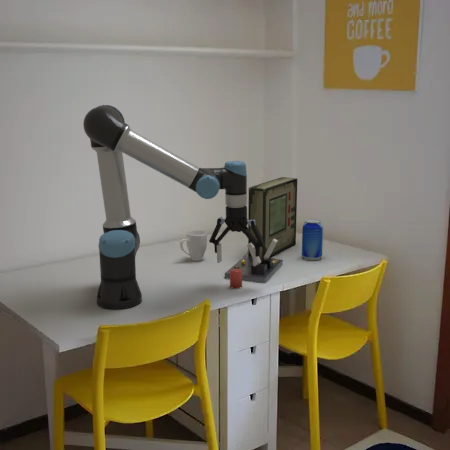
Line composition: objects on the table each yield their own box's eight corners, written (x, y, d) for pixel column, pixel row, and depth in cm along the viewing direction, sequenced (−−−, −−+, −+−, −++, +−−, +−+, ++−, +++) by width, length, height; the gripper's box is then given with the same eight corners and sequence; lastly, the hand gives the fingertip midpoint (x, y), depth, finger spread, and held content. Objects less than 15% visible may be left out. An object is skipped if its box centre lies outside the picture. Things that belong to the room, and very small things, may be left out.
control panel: (264, 261, 257) (265, 189, 250) (248, 258, 261) (248, 187, 254) (295, 244, 282) (297, 178, 275) (280, 242, 286) (282, 177, 278)
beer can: (300, 260, 259) (301, 222, 255) (302, 254, 266) (304, 217, 263) (321, 261, 257) (322, 223, 253) (322, 255, 265) (324, 218, 261)
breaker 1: (259, 264, 234) (250, 243, 233) (255, 266, 235) (246, 245, 234) (261, 262, 237) (252, 242, 236) (258, 263, 237) (249, 243, 237)
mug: (199, 255, 265) (199, 229, 263) (211, 260, 259) (210, 233, 256) (175, 260, 258) (175, 233, 256) (186, 265, 252) (186, 238, 249)
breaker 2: (266, 260, 241) (276, 242, 238) (262, 258, 242) (272, 240, 239) (268, 258, 244) (278, 240, 241) (264, 256, 244) (274, 238, 241)
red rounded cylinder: (239, 289, 225) (239, 273, 223) (228, 287, 226) (228, 271, 225) (243, 285, 229) (243, 269, 227) (232, 283, 230) (232, 268, 229)
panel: (265, 283, 231) (265, 270, 230) (224, 278, 236) (224, 265, 235) (282, 264, 253) (282, 252, 252) (244, 260, 258) (245, 248, 257)
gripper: (273, 205, 220) (273, 263, 225) (207, 201, 228) (208, 257, 233) (267, 209, 213) (267, 269, 218) (199, 205, 221) (201, 263, 226)
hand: (237, 263), depth 226 cm, fingers open, 13 cm apart
